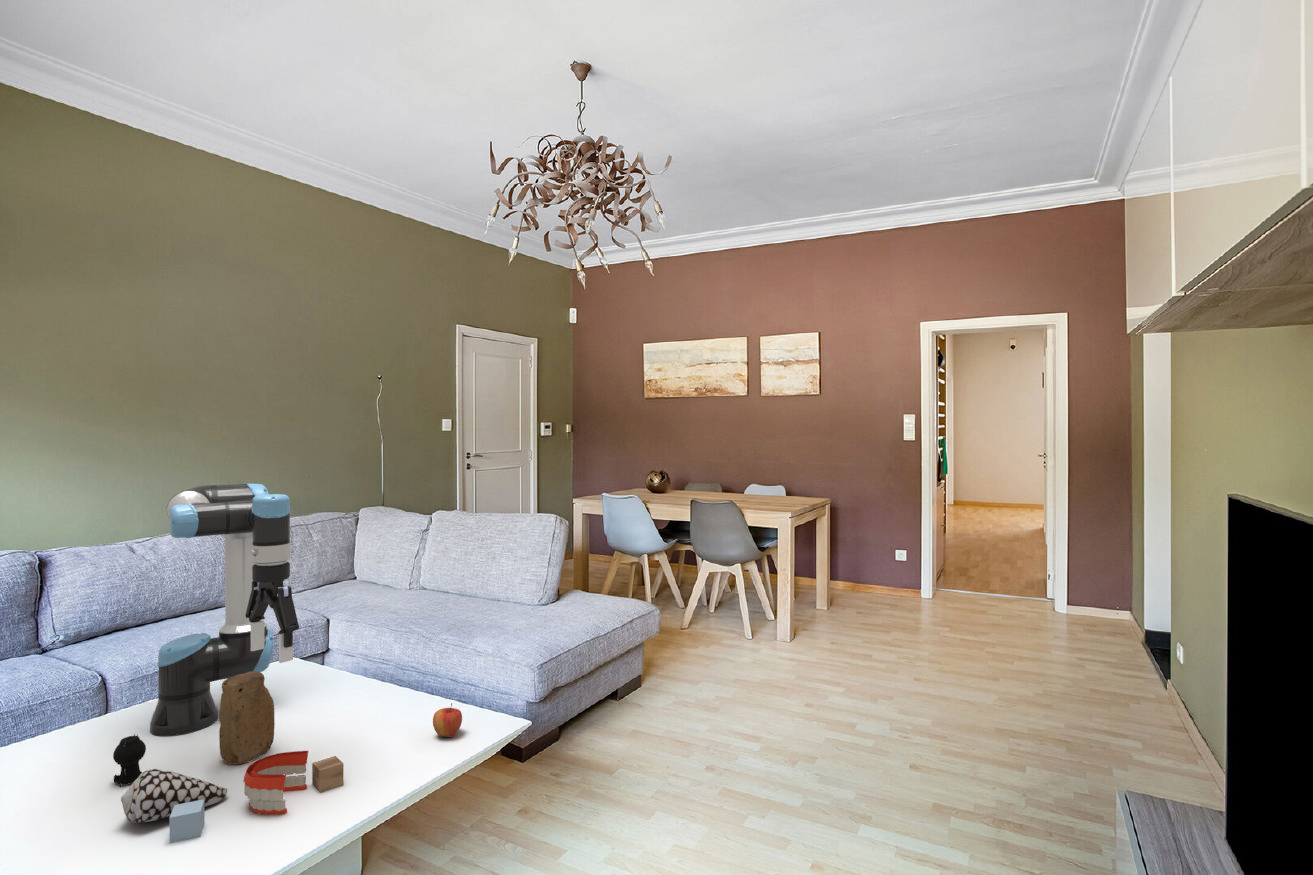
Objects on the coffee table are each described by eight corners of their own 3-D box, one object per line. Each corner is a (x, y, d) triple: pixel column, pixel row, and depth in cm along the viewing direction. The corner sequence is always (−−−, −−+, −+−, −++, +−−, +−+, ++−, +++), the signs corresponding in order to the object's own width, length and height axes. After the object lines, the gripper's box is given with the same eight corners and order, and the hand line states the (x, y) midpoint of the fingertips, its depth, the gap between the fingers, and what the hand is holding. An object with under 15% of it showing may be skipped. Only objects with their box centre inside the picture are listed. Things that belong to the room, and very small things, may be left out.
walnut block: (312, 785, 154) (312, 762, 154) (335, 777, 158) (335, 755, 158) (319, 793, 151) (319, 770, 151) (343, 785, 154) (343, 763, 154)
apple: (426, 739, 177) (426, 708, 177) (445, 728, 184) (445, 698, 184) (449, 744, 174) (449, 712, 174) (468, 732, 181) (467, 702, 181)
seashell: (152, 839, 133) (152, 788, 133) (109, 826, 138) (109, 776, 138) (231, 798, 149) (231, 752, 149) (189, 787, 153) (189, 742, 153)
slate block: (174, 830, 137) (174, 804, 137) (204, 823, 139) (204, 799, 139) (169, 843, 132) (169, 817, 132) (200, 836, 134) (200, 811, 134)
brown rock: (231, 769, 161) (231, 684, 161) (216, 761, 165) (216, 678, 165) (278, 751, 170) (278, 671, 170) (262, 744, 174) (262, 665, 174)
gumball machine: (119, 776, 158) (119, 733, 158) (150, 771, 160) (150, 729, 160) (108, 790, 152) (108, 745, 152) (141, 785, 154) (140, 740, 154)
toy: (261, 787, 153) (261, 751, 153) (309, 785, 154) (309, 750, 154) (231, 818, 140) (231, 779, 140) (284, 816, 141) (284, 777, 141)
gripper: (229, 558, 161) (229, 649, 161) (280, 571, 146) (281, 670, 146) (262, 554, 167) (263, 641, 167) (315, 566, 152) (315, 661, 153)
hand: (271, 655), depth 157 cm, fingers open, 13 cm apart
